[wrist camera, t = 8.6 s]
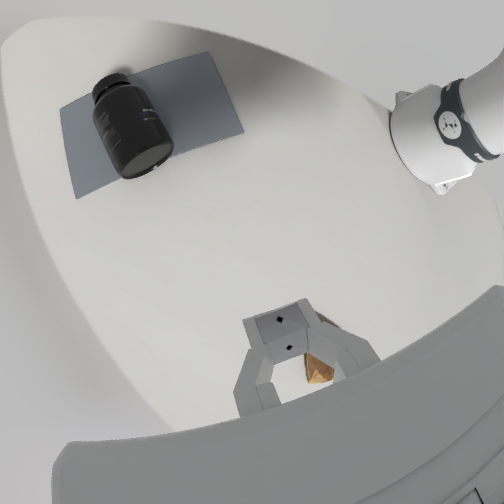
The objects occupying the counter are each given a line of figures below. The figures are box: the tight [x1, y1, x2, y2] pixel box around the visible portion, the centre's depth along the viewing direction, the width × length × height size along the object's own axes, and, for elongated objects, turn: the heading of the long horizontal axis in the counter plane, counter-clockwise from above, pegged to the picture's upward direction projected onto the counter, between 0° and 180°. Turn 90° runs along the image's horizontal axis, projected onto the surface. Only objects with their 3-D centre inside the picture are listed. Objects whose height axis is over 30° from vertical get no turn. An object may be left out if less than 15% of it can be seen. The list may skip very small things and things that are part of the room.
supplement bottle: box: [92, 73, 174, 179], centre depth 25 cm, size 7×7×12 cm
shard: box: [306, 320, 335, 384], centre depth 34 cm, size 11×8×2 cm
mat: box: [60, 52, 244, 199], centre depth 29 cm, size 22×14×1 cm, turn 112°
